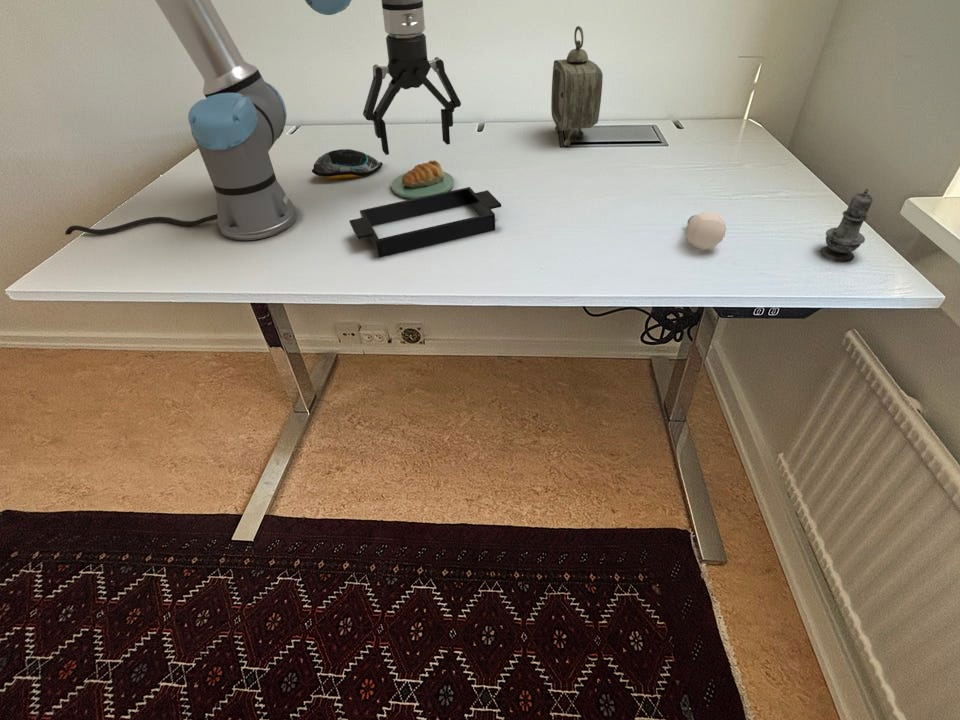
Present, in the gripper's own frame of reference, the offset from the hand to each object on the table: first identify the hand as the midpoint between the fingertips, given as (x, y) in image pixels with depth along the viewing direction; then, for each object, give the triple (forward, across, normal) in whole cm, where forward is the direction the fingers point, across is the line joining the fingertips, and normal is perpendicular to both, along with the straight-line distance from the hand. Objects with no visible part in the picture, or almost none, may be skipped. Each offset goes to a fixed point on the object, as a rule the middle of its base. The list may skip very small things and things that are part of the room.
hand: (416, 147), depth 115 cm
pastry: (+8, +1, 0) cm, 8 cm away
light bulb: (+8, +40, -46) cm, 61 cm away
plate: (+9, +1, 0) cm, 9 cm away
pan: (+9, -4, -19) cm, 22 cm away
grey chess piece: (+7, +58, -60) cm, 84 cm away
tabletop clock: (+8, +45, +10) cm, 46 cm away
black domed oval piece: (+9, -13, +15) cm, 22 cm away
